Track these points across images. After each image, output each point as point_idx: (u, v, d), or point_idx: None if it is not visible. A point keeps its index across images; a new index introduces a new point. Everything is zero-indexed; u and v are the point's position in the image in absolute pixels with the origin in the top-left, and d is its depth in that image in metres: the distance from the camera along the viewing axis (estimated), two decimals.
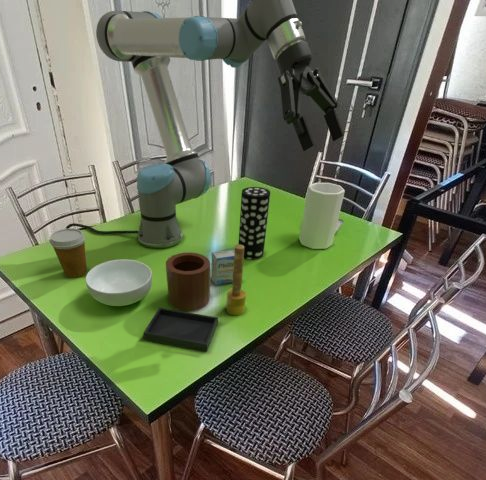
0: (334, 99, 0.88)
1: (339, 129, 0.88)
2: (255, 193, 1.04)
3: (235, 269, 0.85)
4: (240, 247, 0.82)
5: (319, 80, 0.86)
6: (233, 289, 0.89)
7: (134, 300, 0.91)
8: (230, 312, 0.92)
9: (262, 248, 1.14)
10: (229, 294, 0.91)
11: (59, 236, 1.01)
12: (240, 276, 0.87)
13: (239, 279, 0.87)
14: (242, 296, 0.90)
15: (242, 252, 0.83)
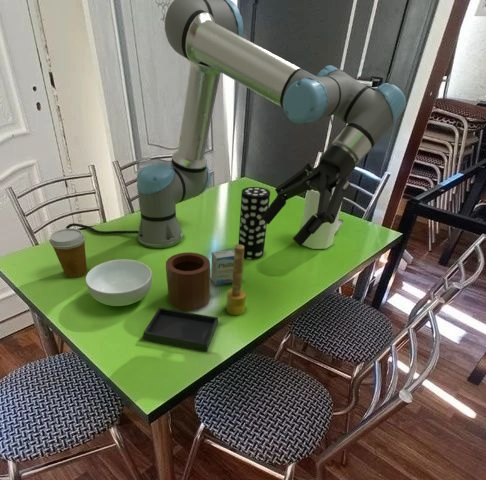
0: None
1: (272, 218, 0.91)
2: (255, 193, 1.04)
3: (235, 269, 0.85)
4: (240, 247, 0.82)
5: None
6: (233, 289, 0.89)
7: (134, 300, 0.91)
8: (230, 312, 0.92)
9: (262, 248, 1.14)
10: (229, 294, 0.91)
11: (59, 236, 1.01)
12: (240, 276, 0.87)
13: (239, 279, 0.87)
14: (242, 296, 0.90)
15: (242, 252, 0.83)
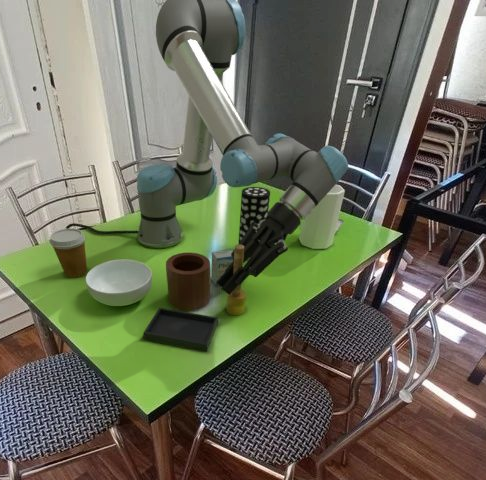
0: None
1: None
2: (255, 193, 1.04)
3: (235, 269, 0.85)
4: (240, 247, 0.82)
5: None
6: None
7: (134, 300, 0.91)
8: (230, 312, 0.92)
9: None
10: None
11: (59, 236, 1.01)
12: None
13: None
14: (242, 296, 0.90)
15: (242, 252, 0.83)
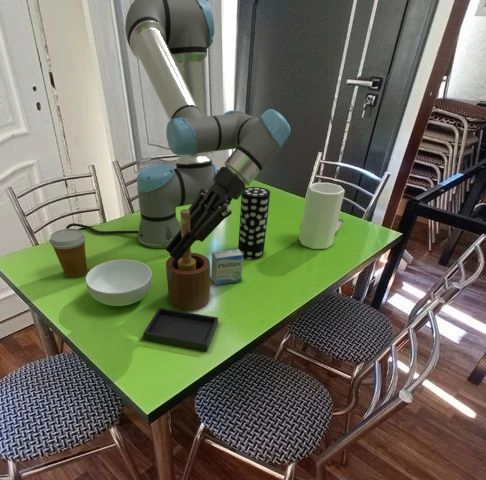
0: None
1: None
2: (255, 193, 1.04)
3: (183, 235, 0.86)
4: (185, 211, 0.83)
5: None
6: (183, 256, 0.90)
7: (134, 300, 0.91)
8: None
9: (262, 248, 1.14)
10: (179, 261, 0.91)
11: (59, 236, 1.01)
12: None
13: None
14: (192, 263, 0.91)
15: (188, 216, 0.83)
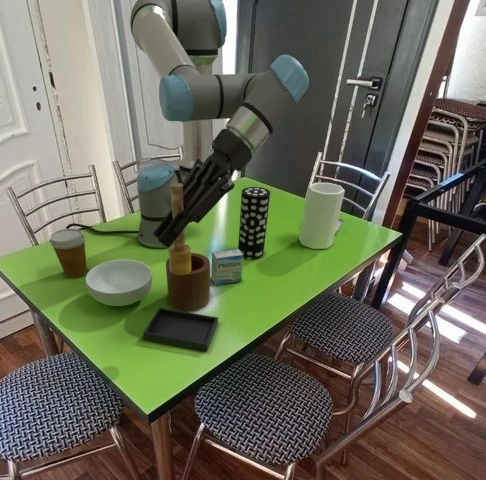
0: None
1: None
2: (255, 193, 1.04)
3: (174, 215, 0.70)
4: (177, 185, 0.67)
5: None
6: (174, 242, 0.74)
7: (134, 300, 0.91)
8: (173, 271, 0.76)
9: (262, 248, 1.14)
10: (171, 249, 0.75)
11: (59, 236, 1.01)
12: None
13: None
14: (186, 250, 0.74)
15: (180, 191, 0.67)
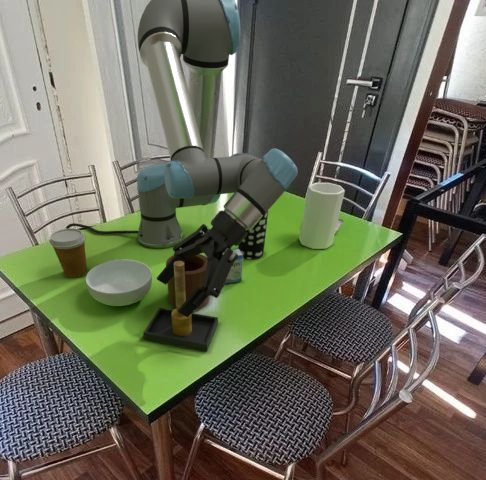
0: None
1: (169, 278, 0.85)
2: None
3: (177, 288, 0.78)
4: (179, 264, 0.75)
5: None
6: (177, 308, 0.82)
7: (134, 300, 0.91)
8: (175, 333, 0.85)
9: (262, 248, 1.14)
10: (173, 313, 0.83)
11: (59, 236, 1.01)
12: (182, 295, 0.79)
13: (182, 298, 0.80)
14: None
15: (182, 269, 0.75)
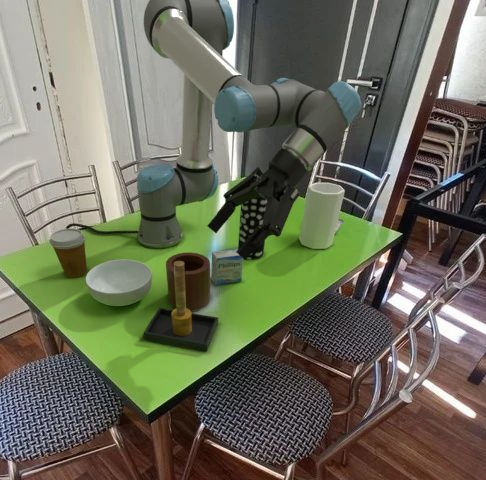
0: None
1: (220, 226, 0.82)
2: None
3: (177, 288, 0.78)
4: (179, 264, 0.75)
5: None
6: (177, 308, 0.82)
7: (134, 300, 0.91)
8: (175, 333, 0.85)
9: (262, 248, 1.14)
10: (173, 313, 0.83)
11: (59, 236, 1.01)
12: (182, 295, 0.79)
13: (182, 298, 0.80)
14: (187, 315, 0.83)
15: (182, 269, 0.75)
